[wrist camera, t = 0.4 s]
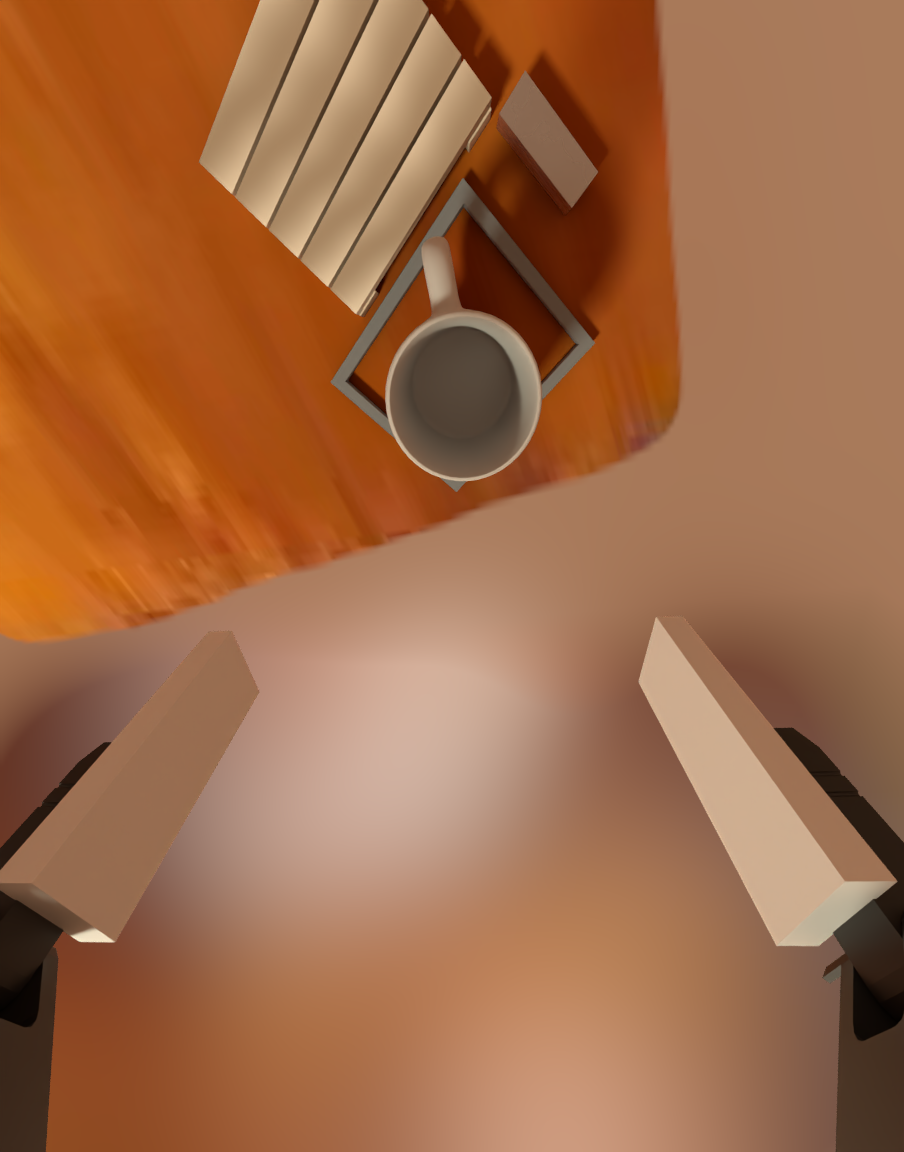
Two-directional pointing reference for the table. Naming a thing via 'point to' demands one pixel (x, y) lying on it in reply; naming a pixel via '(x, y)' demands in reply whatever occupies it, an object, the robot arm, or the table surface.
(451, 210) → the socket frame
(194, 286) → the table surface
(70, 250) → the table surface
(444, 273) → the mug
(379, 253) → the rack
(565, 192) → the grey rectangular bar
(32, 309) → the table surface
